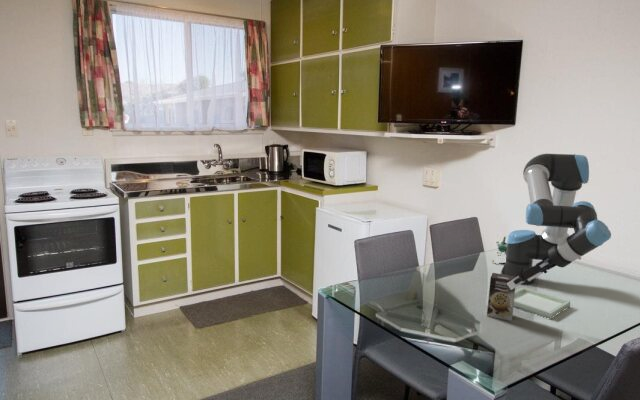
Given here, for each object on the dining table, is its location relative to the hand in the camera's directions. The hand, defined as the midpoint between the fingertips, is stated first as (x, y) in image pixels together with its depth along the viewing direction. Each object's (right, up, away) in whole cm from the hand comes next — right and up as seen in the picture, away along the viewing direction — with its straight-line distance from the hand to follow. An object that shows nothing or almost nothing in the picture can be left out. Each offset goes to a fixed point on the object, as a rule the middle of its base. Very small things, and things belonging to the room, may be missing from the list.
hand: (518, 282), depth 171 cm
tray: (+15, -13, +19) cm, 27 cm away
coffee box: (-4, -15, +9) cm, 18 cm away
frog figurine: (+24, -2, +75) cm, 79 cm away
